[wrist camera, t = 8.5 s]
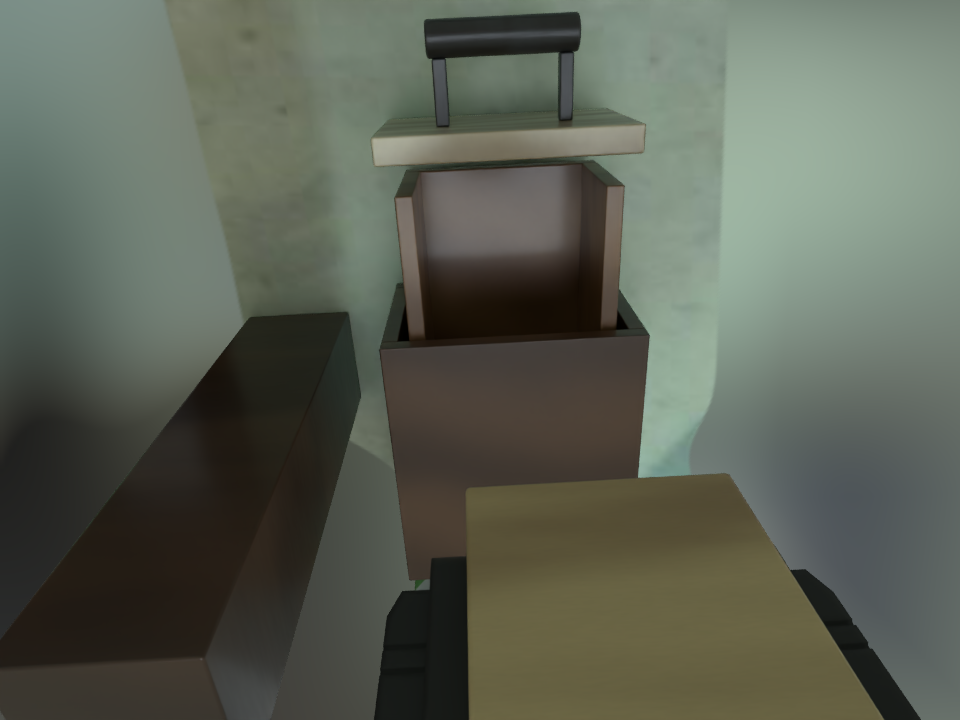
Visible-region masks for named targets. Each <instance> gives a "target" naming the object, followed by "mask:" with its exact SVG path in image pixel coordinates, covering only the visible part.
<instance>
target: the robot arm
mask: <svg viewBox="0 0 960 720" xmlns="http://www.w3.org/2000/svg"><path fill="white" fill-rule="evenodd" d="M775 548H776V547H775ZM776 549H777V548H776ZM777 551H778V550H777ZM779 554H780V553H779ZM780 556H781V555H780ZM782 559H783V558H782ZM783 560H784V559H783ZM784 562H785V561H784ZM785 563H786V562H785ZM786 565H787V564H786ZM787 567H788V566H787ZM788 568H789V567H788ZM789 570H790V569H789ZM790 571H791V573H792V575H793V576H794V578H795V579H796V581H797V582H798V584H799V586H800V587H801V589H802V590H803V592H804V594H805V595H806V597H807V598H808V600H809V602H810V603H811V605H812V606H813V608H814V609H815V611H816V613H817V614H818V616H819V617H820V619H821V621H822V622H823V624H824V625H825V627H826V628H827V630H828V632H829V633H830V635H831V636H832V638H833V640H834V641H835V643H836V644H837V646H838V647H839V649H840V651H841V652H842V654H843V655H844V657H845V659H846V660H847V662H848V663H849V665H850V666H851V668H852V670H853V671H854V673H855V674H856V676H857V678H858V679H859V681H860V682H861V684H862V685H863V687H864V689H865V690H866V692H867V693H868V695H869V697H870V698H871V700H872V701H873V703H874V705H875V706H876V708H877V709H878V711H879V712H880V714H881V716H882V717H883V719H884V720H921V719H920V717H919V716H918V715H917V713H916V712H915V710H914V709H913V707H912V706H911V704H910V703H909V701H908V700H907V699H906V697H905V696H904V694H903V693H902V691H901V690H900V689H899V687H898V685H897V684H896V683H895V681H894V680H893V679H892V677H891V675H890V674H889V672H888V671H887V669H886V668H885V667H884V665H883V664H882V662H881V661H880V659H879V658H878V656H877V655H876V654H875V652H874V651H873V649H870V648H869V646H868V642H867V640H866V639H865V637H864V636H863V635H862V633H861V632H860V630H859V629H858V627H857V626H856V625H853V623H852V618H851V617H850V616H849V614H848V613H847V611H846V610H845V608H844V607H843V605H842V604H841V602H840V601H839V600H838V598H837V597H836V595H835V594H834V592H832V591H831V590H830V589H829V588H828V587H826V586H825V585H824V584H823V583H822V582H820V581H819V580H818V579H817V578H815V577H814V576H813V575H812V574H810V573H809V572H808V571H807V570H805V569H804V570H803V569H802V570H790ZM383 647H384V650H383V653H382V660H381V668H380V671H381V673H380V676H379V684H378V692H377V700H376V709H375V716H374V720H469V695H468V628H467V560H466V556H458V557H441V558H432V559H431V571H430V590H414V591H402V592H401V594H400V596H399V597H398V599H397V601H396V602H395V604H394V606H393V607H392V609H391V611H390V612H389V614H388V616H387V620H386V628H385V636H384V644H383Z"/></svg>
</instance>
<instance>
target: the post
mask: <svg viewBox="0 0 960 720" xmlns="http://www.w3.org/2000/svg"><path fill="white" fill-rule="evenodd" d="M360 398H361V394H360V388H359V381H358V375H357V368H356V361H355V355H354V348H353V341H352V335H351V328H350V321H349V315H348V313H347V312H343V313H324V314H306V315H287V316H268V317H250V318H249V319H248V320H247V321H246V323H245V324H244V325H243V327H242V328H241V329H240V330H239V332H238V333H237V334H236V336H235V337H234V338H233V340H232V341H231V342H230V343H229V345H228V346H227V347H226V349H225V350H224V351H223V353H222V354H221V355H220V356H219V358H218V359H217V360H216V361H215V363H214V364H213V365H212V367H211V368H210V369H209V370H208V372H207V373H206V374H205V376H204V377H203V378H202V379H201V381H200V382H199V384H198V385H197V386H196V387H195V389H194V390H193V391H192V393H191V394H190V395H189V396H188V398H187V399H186V400H185V401H184V403H183V404H182V405H181V407H180V408H179V409H178V410H177V412H176V413H175V414H174V416H173V417H172V418H171V419H170V421H169V422H168V423H167V425H166V426H165V427H164V429H163V430H162V431H161V432H160V434H159V435H158V436H157V438H156V439H155V440H154V441H153V443H152V444H151V445H150V447H149V448H148V449H147V451H146V452H145V453H144V454H143V456H142V457H141V458H140V459H139V461H138V462H137V463H136V465H135V466H134V467H133V468H132V470H131V471H130V472H129V474H128V475H127V476H126V478H125V479H124V480H123V481H122V483H121V484H120V485H119V487H118V488H117V489H116V490H115V492H114V493H113V494H112V496H111V497H110V498H109V499H108V501H107V502H106V503H105V505H104V506H103V507H102V509H101V510H100V511H99V512H98V514H97V515H96V516H95V517H94V519H93V520H92V521H91V523H90V524H89V525H88V527H87V528H86V529H85V530H84V532H83V533H82V534H81V536H80V537H79V538H78V539H77V541H76V542H75V543H74V545H73V546H72V547H71V548H70V550H69V551H68V552H67V554H66V555H65V556H64V558H63V559H62V560H61V561H60V563H59V564H58V565H57V566H56V568H55V569H54V570H53V572H52V573H51V574H50V576H49V577H48V578H47V579H46V581H45V582H44V583H43V585H42V586H41V587H40V588H39V590H38V591H37V592H36V594H35V595H34V596H33V597H32V599H31V600H30V602H29V603H28V604H27V605H26V607H25V608H24V609H23V611H22V612H21V613H20V614H19V615H18V617H17V618H16V619H15V621H14V622H13V623H12V625H11V626H10V627H9V628H8V630H7V631H6V632H5V634H4V635H3V636H2V638H1V639H0V712H1V714H2V715H3V717H4V719H5V720H270V719H271V716H272V712H273V708H274V705H275V701H276V698H277V694H278V691H279V687H280V683H281V680H282V676H283V673H284V669H285V666H286V662H287V659H288V655H289V652H290V648H291V644H292V641H293V637H294V634H295V630H296V626H297V623H298V619H299V616H300V612H301V609H302V605H303V602H304V598H305V594H306V591H307V587H308V583H309V580H310V577H311V573H312V569H313V566H314V562H315V559H316V555H317V552H318V548H319V545H320V541H321V537H322V534H323V530H324V527H325V523H326V520H327V516H328V512H329V508H330V505H331V502H332V498H333V495H334V491H335V487H336V484H337V480H338V477H339V473H340V470H341V466H342V462H343V459H344V455H345V452H346V448H347V444H348V441H349V438H350V434H351V430H352V427H353V423H354V420H355V416H356V413H357V409H358V405H359V402H360Z"/></svg>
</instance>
